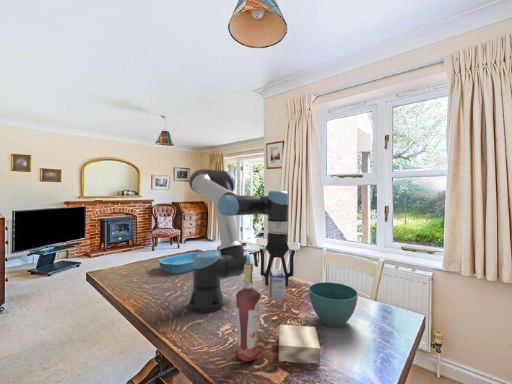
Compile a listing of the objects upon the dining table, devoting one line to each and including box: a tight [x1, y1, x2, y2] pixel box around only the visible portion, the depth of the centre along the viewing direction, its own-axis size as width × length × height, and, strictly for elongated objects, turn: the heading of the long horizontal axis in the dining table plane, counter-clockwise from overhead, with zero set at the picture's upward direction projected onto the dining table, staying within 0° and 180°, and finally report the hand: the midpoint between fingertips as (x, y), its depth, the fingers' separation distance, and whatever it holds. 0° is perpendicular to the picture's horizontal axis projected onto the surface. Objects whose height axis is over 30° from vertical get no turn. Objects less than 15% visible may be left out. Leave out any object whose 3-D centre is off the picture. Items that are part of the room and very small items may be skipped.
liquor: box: [235, 262, 261, 363], centre depth 77 cm, size 7×7×28 cm
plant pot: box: [308, 281, 359, 328], centre depth 100 cm, size 18×18×12 cm
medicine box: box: [269, 268, 285, 301], centre depth 96 cm, size 8×4×9 cm, turn 4°
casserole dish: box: [158, 252, 199, 275], centre depth 171 cm, size 37×22×7 cm, turn 145°
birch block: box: [278, 324, 321, 365], centre depth 81 cm, size 12×12×5 cm
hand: (276, 294), depth 95 cm, fingers closed on medicine box, 5 cm apart
